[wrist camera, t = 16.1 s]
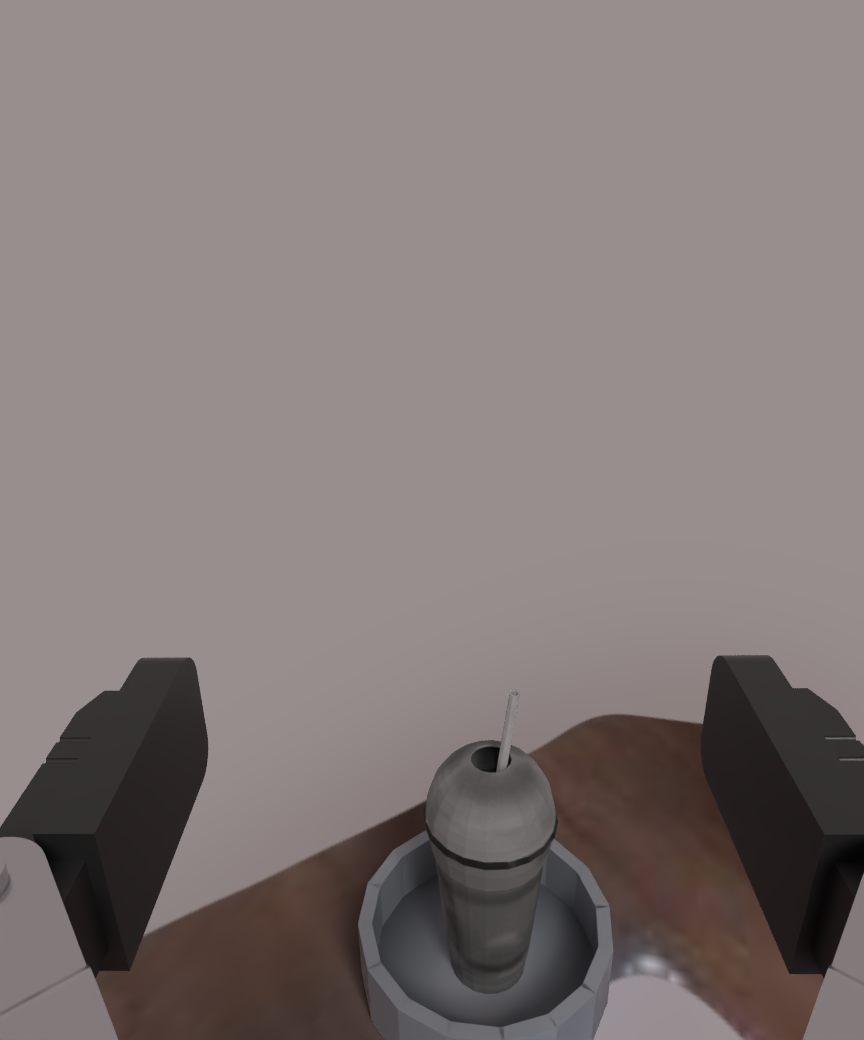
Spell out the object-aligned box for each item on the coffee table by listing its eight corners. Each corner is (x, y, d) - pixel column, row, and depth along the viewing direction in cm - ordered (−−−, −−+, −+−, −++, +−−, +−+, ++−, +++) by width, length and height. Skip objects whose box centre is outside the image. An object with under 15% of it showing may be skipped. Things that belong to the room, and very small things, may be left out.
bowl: (636, 925, 51) (643, 874, 49) (550, 1151, 40) (554, 1097, 38) (438, 839, 58) (437, 791, 56) (315, 1011, 46) (309, 959, 44)
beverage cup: (457, 891, 52) (454, 633, 44) (563, 931, 50) (583, 664, 41) (407, 986, 46) (393, 710, 38) (525, 1039, 44) (538, 753, 35)
